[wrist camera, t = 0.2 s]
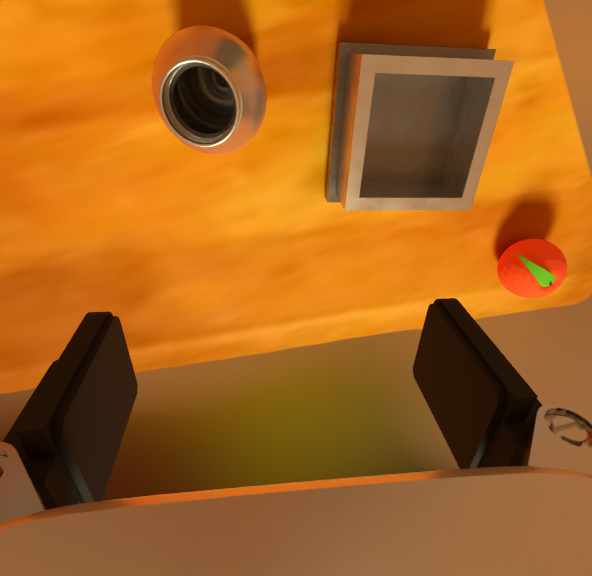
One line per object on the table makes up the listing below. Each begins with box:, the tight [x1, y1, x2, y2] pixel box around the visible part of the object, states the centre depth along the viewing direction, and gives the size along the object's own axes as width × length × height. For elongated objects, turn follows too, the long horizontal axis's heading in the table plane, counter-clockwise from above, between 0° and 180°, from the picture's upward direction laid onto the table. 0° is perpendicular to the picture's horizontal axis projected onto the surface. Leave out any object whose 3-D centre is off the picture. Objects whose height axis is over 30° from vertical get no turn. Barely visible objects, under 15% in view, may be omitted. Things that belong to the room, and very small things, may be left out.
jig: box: [325, 42, 514, 210], centre depth 35 cm, size 14×14×6 cm
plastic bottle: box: [152, 25, 267, 155], centre depth 25 cm, size 6×7×20 cm
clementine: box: [497, 239, 567, 298], centre depth 44 cm, size 8×7×7 cm
